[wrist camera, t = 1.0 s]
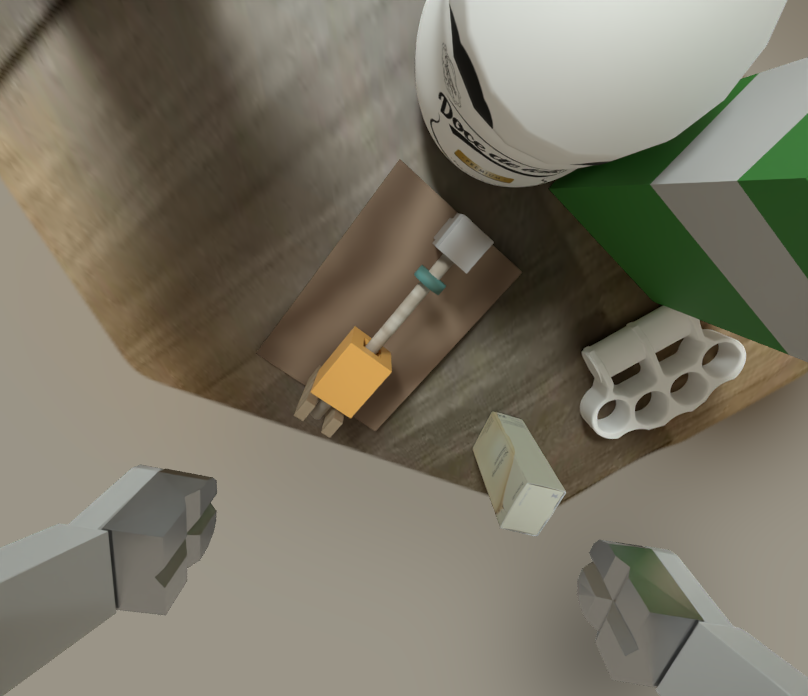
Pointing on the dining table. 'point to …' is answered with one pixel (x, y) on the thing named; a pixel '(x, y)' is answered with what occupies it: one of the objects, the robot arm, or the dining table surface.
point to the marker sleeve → (352, 373)
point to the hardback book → (716, 212)
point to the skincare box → (516, 475)
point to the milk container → (576, 77)
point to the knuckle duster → (656, 371)
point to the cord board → (391, 295)
